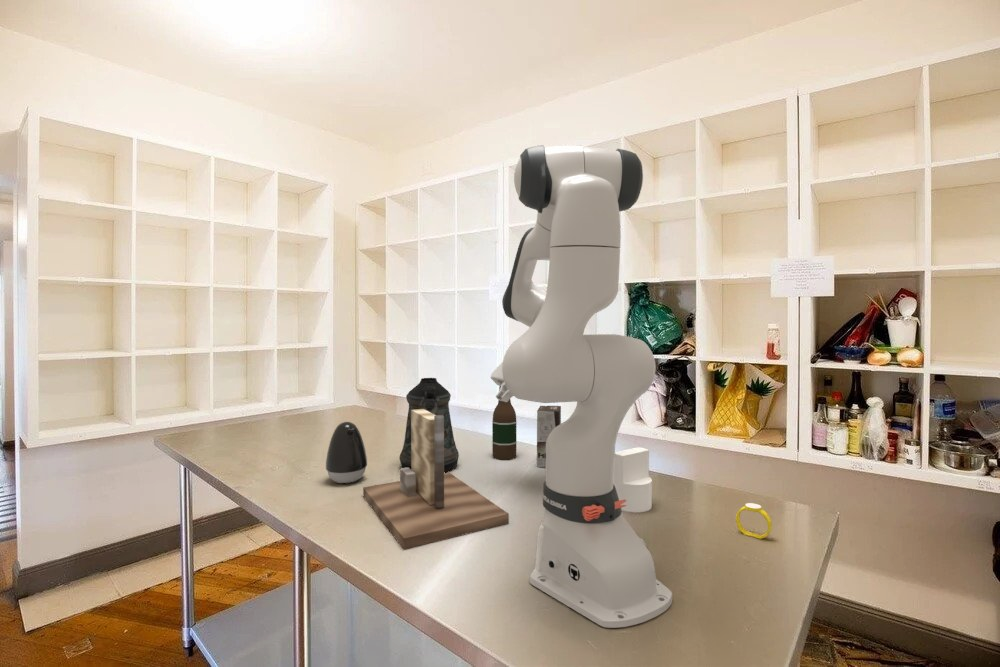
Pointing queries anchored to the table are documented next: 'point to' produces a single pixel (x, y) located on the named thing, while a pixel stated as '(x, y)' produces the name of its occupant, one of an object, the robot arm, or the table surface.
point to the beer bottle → (504, 431)
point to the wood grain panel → (428, 455)
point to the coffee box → (546, 429)
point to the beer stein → (436, 402)
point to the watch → (753, 508)
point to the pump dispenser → (346, 454)
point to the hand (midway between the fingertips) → (500, 399)
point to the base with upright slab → (633, 479)
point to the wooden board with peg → (431, 510)
